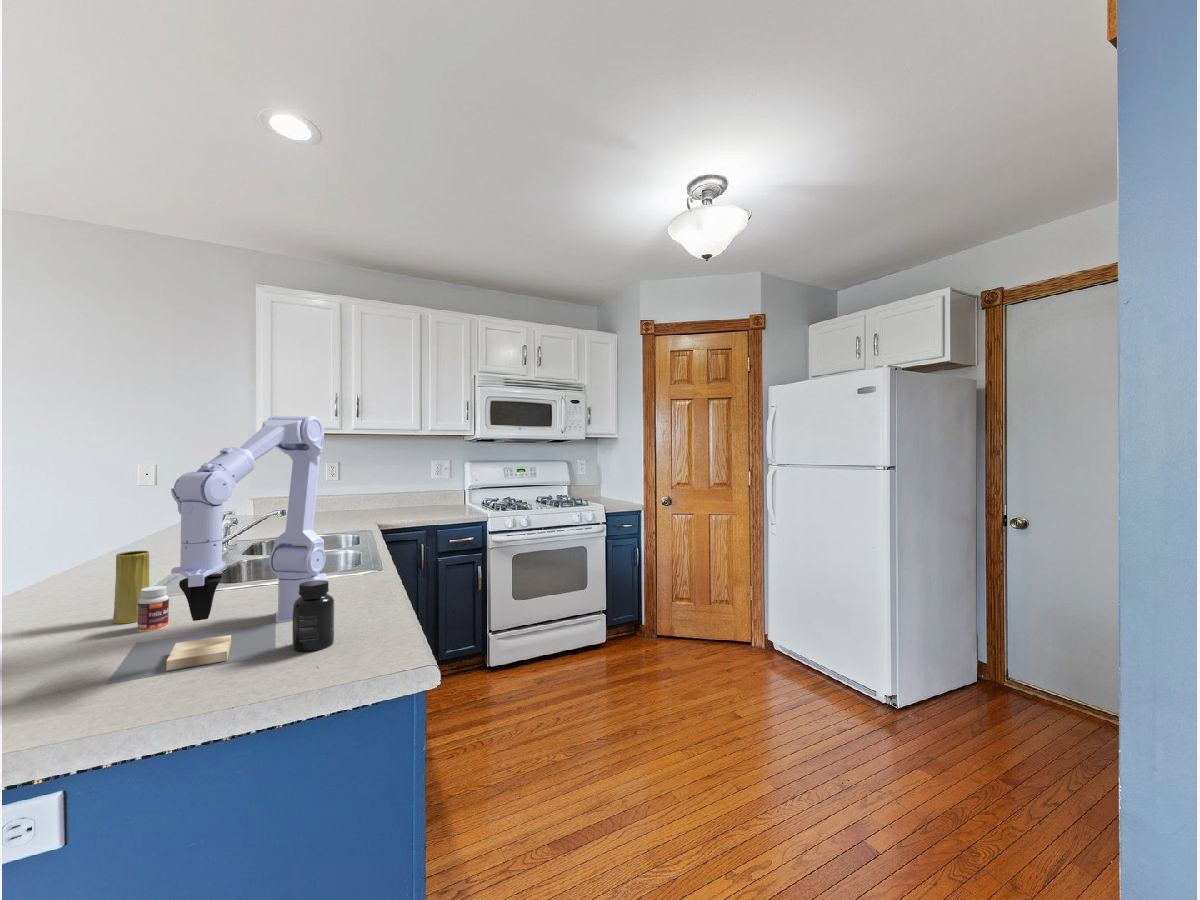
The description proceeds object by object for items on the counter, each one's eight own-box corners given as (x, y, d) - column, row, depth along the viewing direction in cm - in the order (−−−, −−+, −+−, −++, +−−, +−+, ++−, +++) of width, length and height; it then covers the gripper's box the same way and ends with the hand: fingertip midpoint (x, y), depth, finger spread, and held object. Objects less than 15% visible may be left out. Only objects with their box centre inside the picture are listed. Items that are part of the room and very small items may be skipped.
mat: (275, 624, 108) (275, 622, 108) (275, 657, 91) (275, 655, 91) (136, 644, 96) (136, 642, 96) (106, 686, 79) (106, 684, 79)
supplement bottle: (342, 643, 98) (343, 580, 98) (311, 656, 91) (312, 589, 91) (314, 638, 100) (315, 577, 100) (283, 651, 94) (283, 585, 94)
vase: (128, 615, 113) (129, 550, 113) (158, 614, 113) (159, 550, 113) (104, 624, 107) (105, 555, 107) (136, 624, 107) (136, 555, 107)
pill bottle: (150, 634, 101) (150, 591, 101) (131, 632, 102) (131, 590, 102) (174, 626, 106) (175, 585, 106) (156, 624, 107) (156, 584, 107)
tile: (231, 635, 96) (227, 651, 88) (231, 644, 96) (226, 661, 88) (175, 643, 91) (166, 660, 84) (175, 653, 91) (166, 671, 84)
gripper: (179, 536, 93) (178, 611, 93) (164, 549, 81) (163, 636, 81) (227, 533, 97) (226, 605, 97) (219, 545, 85) (218, 628, 85)
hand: (200, 619), depth 89 cm, fingers closed
